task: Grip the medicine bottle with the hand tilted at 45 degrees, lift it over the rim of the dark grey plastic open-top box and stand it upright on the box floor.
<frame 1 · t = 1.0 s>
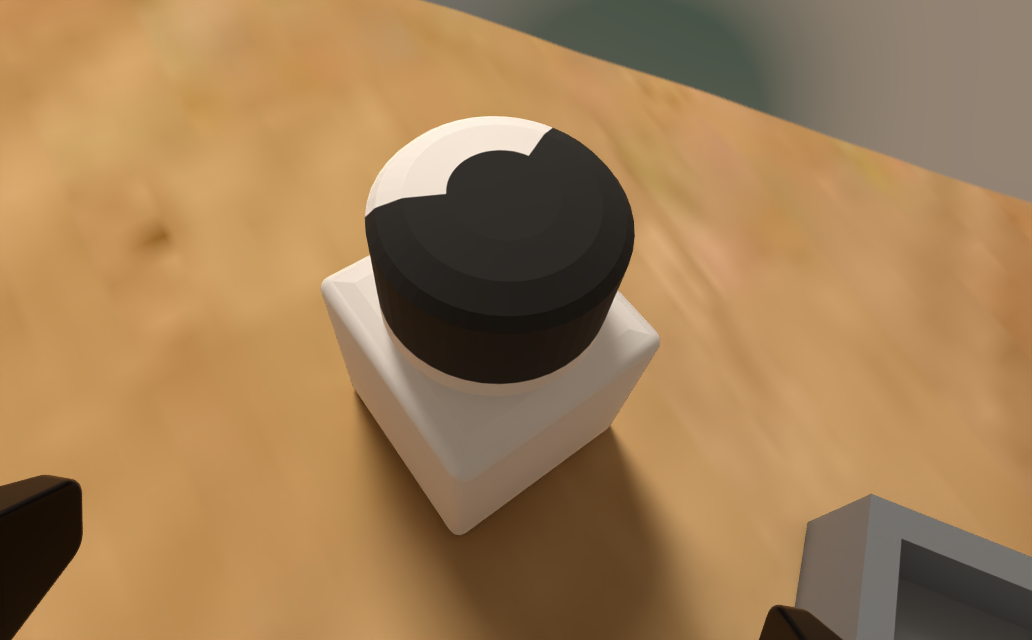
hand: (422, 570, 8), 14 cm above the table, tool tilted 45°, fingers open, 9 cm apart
medicine bottle: (480, 406, 24), on the table
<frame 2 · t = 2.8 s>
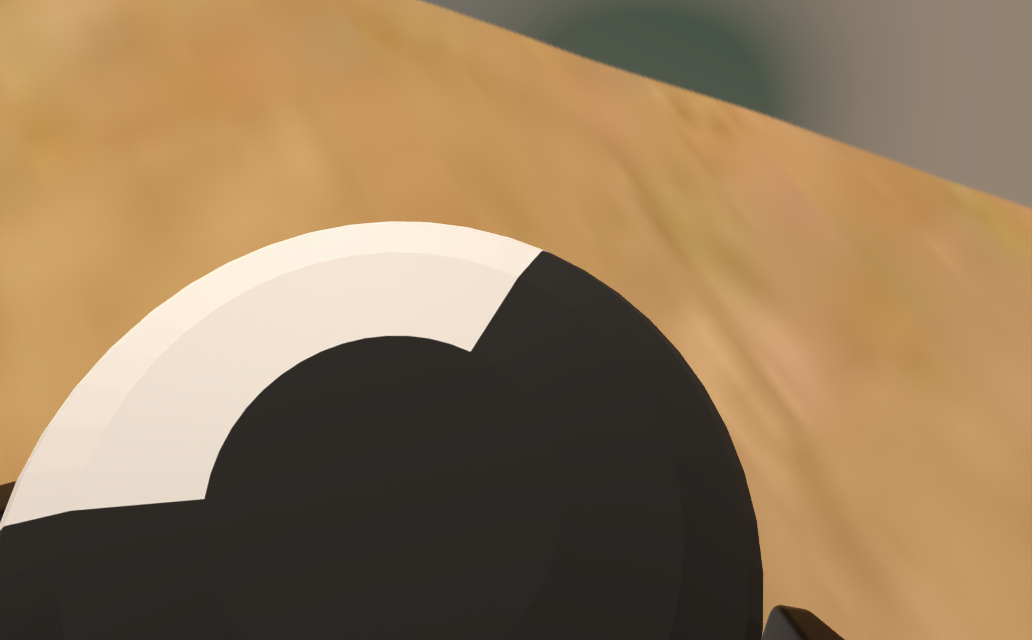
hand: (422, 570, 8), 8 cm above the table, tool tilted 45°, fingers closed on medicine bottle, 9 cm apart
medicine bottle: (434, 632, 15), on the table, touching gripper
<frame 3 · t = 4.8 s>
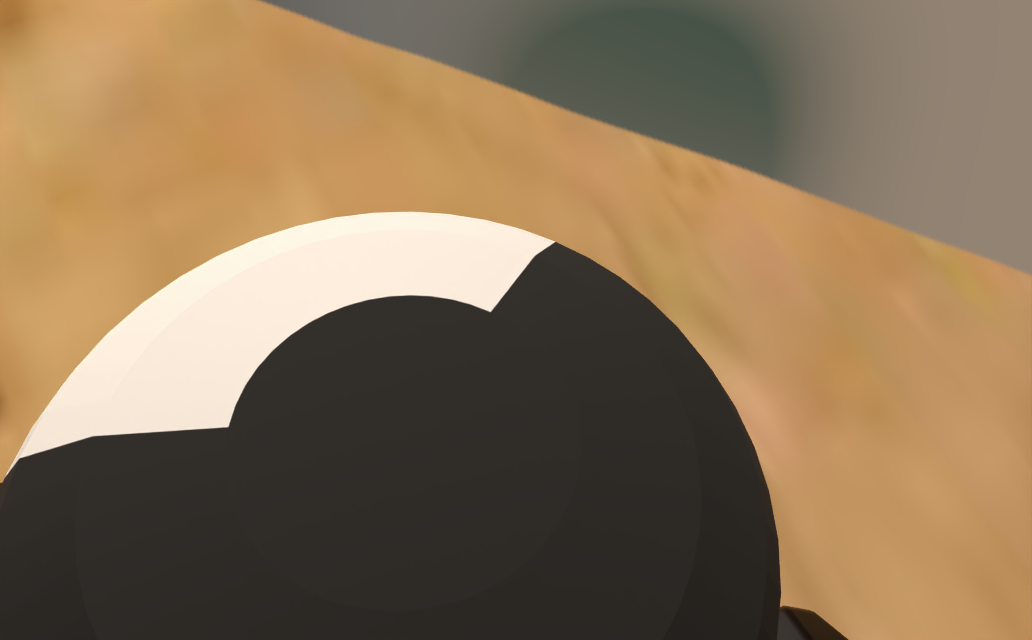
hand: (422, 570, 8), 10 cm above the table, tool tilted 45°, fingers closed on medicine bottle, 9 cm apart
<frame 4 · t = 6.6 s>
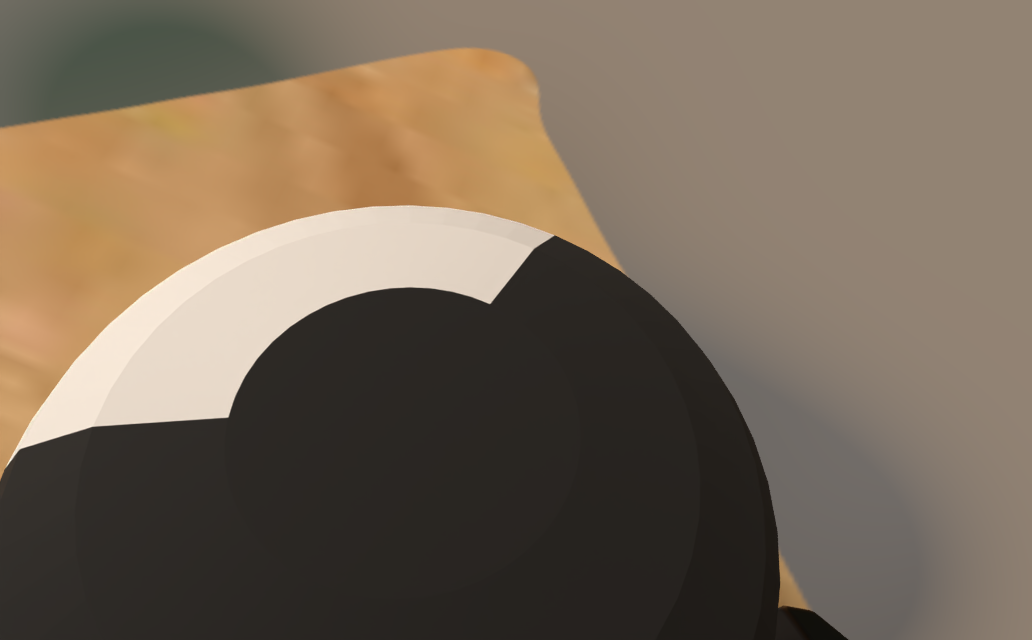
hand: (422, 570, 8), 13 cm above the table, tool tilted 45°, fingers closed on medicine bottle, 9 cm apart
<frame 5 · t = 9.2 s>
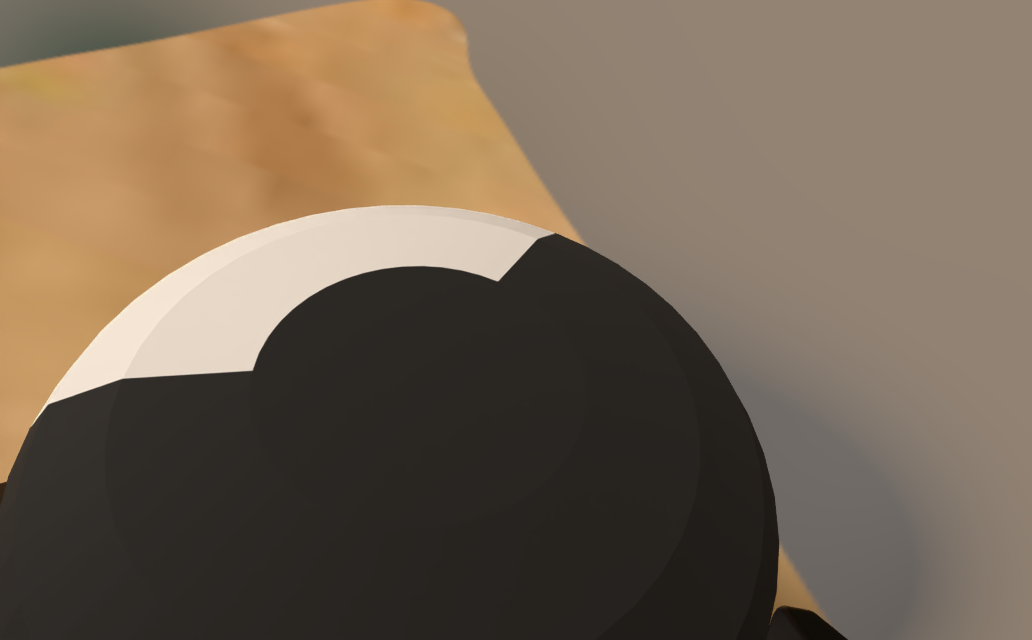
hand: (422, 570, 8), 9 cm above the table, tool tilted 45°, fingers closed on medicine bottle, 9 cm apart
when the fingers open (10 cm above the table, at t = 10.5 s): medicine bottle drops 1 cm, resting on open-top box.
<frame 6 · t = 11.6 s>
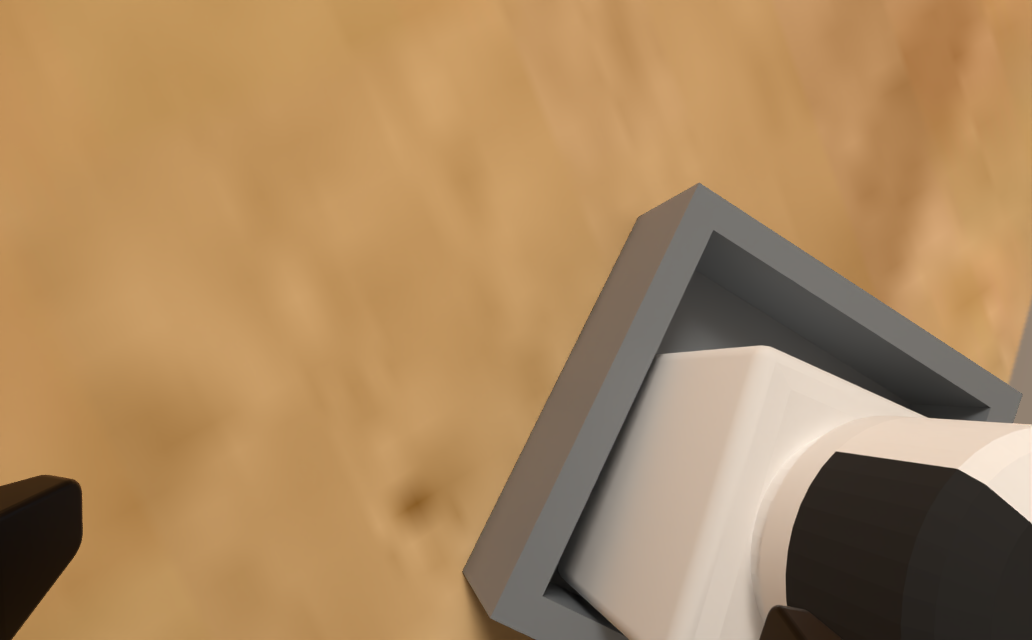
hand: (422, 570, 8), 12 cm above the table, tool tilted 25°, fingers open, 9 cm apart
open-top box: (714, 471, 22), on the table
medicine bottle: (683, 495, 21), point 1 cm above the table, touching open-top box
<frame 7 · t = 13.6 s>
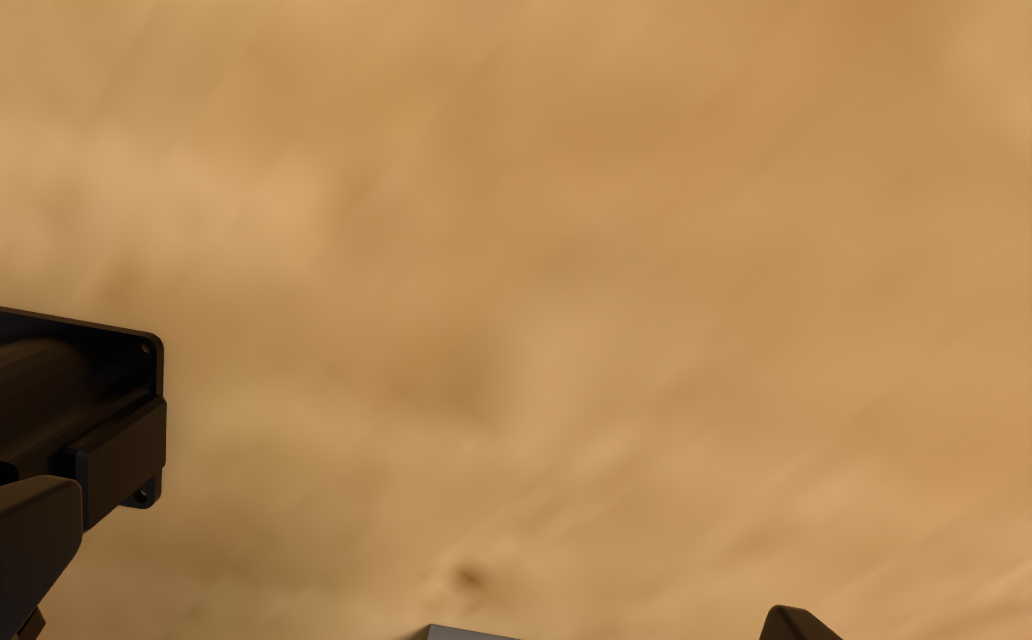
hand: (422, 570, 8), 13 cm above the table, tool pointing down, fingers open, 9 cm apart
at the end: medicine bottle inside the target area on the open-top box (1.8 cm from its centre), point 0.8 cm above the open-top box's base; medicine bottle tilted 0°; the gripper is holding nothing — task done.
